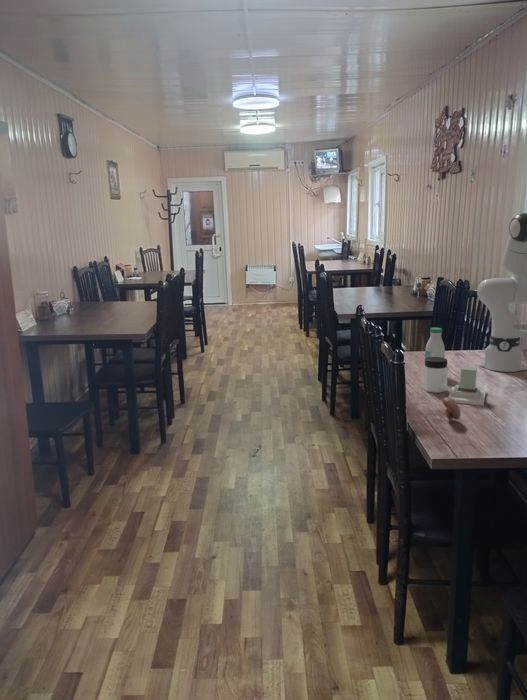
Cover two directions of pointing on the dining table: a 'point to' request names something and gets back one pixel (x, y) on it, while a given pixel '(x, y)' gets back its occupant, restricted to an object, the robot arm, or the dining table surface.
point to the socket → (468, 396)
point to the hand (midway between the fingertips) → (513, 329)
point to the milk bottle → (435, 344)
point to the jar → (435, 374)
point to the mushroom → (451, 408)
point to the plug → (468, 378)
